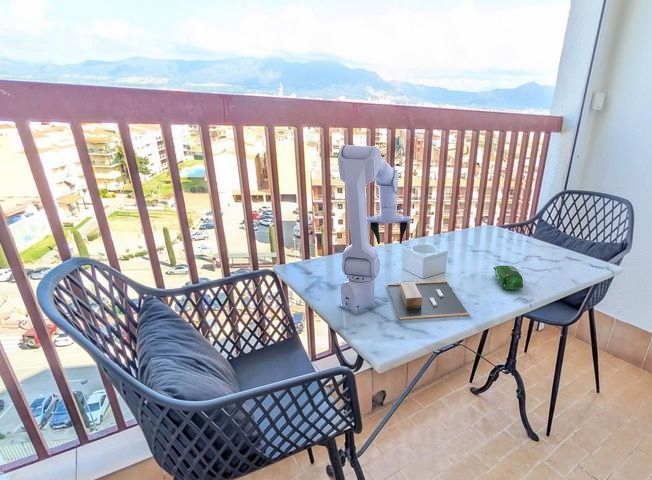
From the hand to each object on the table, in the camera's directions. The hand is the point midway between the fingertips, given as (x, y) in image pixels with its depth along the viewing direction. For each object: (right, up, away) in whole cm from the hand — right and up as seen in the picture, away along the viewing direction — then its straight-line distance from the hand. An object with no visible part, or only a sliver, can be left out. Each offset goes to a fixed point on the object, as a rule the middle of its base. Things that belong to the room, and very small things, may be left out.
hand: (389, 242), depth 139 cm
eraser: (+7, -21, -18) cm, 28 cm away
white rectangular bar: (+14, -22, -20) cm, 32 cm away
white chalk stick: (+16, -19, -14) cm, 28 cm away
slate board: (+12, -21, -17) cm, 30 cm away
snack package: (+40, -15, -3) cm, 43 cm away
